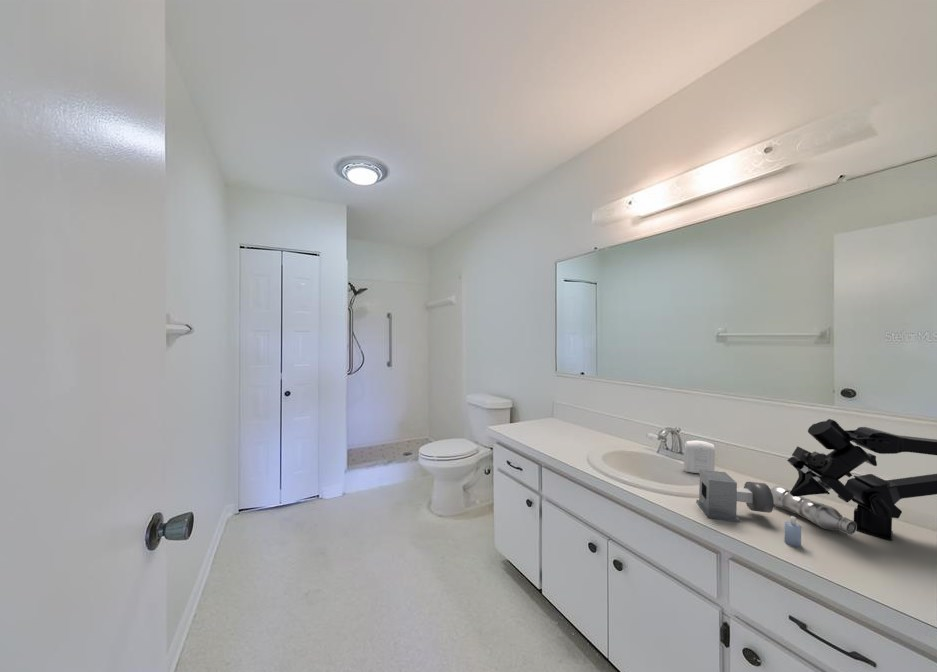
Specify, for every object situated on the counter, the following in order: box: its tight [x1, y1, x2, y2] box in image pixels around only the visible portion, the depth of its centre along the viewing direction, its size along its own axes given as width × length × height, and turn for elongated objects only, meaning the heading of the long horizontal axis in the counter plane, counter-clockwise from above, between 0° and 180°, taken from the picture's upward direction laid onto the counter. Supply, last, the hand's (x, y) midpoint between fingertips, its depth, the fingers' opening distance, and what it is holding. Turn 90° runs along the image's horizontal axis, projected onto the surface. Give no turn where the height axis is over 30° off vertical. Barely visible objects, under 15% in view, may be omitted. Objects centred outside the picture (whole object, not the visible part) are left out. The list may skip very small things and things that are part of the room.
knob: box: [737, 481, 775, 514], centre depth 105 cm, size 13×8×8 cm, turn 74°
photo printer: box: [683, 439, 716, 474], centre depth 137 cm, size 10×4×12 cm, turn 72°
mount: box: [696, 470, 741, 523], centre depth 107 cm, size 8×10×11 cm
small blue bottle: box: [783, 515, 803, 548], centre depth 91 cm, size 3×3×7 cm
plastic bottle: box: [770, 485, 857, 536], centre depth 103 cm, size 6×7×20 cm
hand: (791, 494), depth 102 cm, fingers closed
